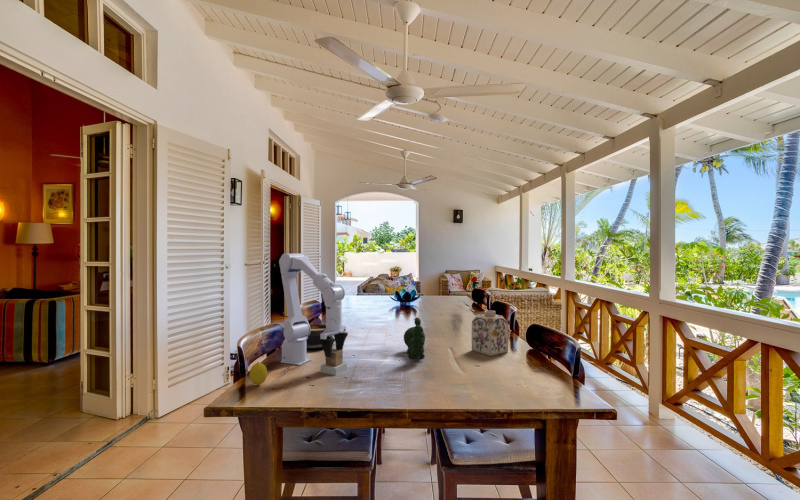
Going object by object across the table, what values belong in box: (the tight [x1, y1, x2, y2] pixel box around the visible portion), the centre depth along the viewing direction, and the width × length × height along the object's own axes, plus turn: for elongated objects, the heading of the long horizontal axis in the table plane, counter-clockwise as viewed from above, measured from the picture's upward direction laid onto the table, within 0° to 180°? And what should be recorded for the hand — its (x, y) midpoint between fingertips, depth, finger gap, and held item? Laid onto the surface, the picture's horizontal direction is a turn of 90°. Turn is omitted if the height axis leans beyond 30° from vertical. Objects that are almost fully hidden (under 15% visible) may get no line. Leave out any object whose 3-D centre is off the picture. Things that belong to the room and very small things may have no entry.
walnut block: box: [325, 348, 344, 367], centre depth 146 cm, size 4×4×5 cm
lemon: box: [249, 361, 268, 387], centre depth 131 cm, size 6×6×8 cm
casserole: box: [306, 323, 335, 349], centre depth 184 cm, size 25×19×8 cm
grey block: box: [319, 362, 348, 376], centre depth 146 cm, size 7×7×3 cm
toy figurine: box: [403, 316, 426, 360], centre depth 167 cm, size 9×19×25 cm
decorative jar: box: [471, 309, 509, 357], centre depth 173 cm, size 12×12×18 cm
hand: (333, 354), depth 146 cm, fingers open, 7 cm apart
